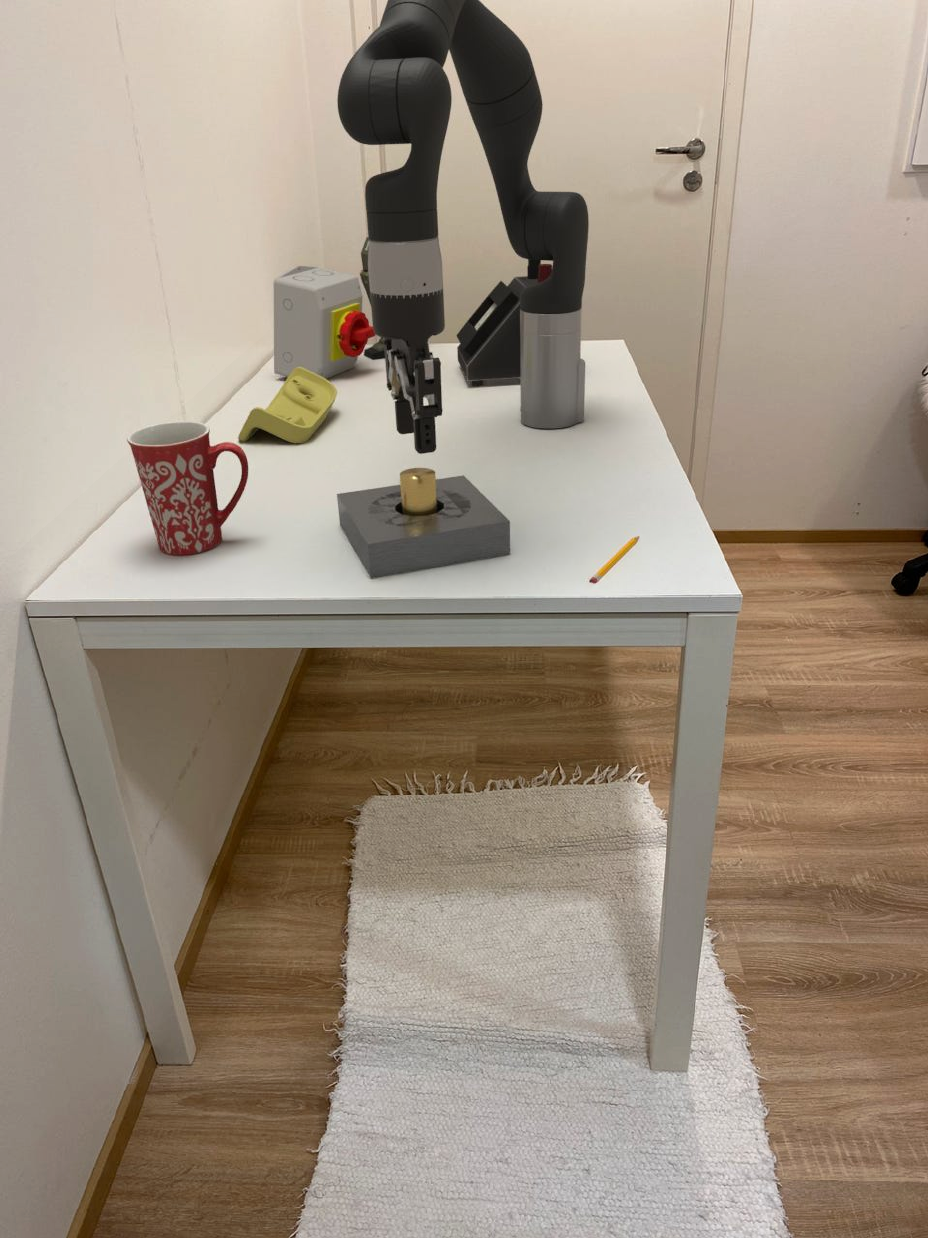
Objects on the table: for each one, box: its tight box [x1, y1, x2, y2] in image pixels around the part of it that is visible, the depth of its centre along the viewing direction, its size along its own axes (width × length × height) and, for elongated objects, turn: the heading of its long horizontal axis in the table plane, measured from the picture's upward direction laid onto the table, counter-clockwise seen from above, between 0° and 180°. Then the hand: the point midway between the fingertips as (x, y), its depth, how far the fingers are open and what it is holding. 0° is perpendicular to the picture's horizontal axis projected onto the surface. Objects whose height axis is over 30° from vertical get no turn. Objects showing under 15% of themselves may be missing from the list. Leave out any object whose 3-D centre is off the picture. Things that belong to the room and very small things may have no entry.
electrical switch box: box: [273, 264, 377, 380], centre depth 176 cm, size 15×15×20 cm
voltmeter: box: [456, 259, 553, 387], centre depth 171 cm, size 16×16×20 cm
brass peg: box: [399, 467, 437, 516], centre depth 107 cm, size 4×4×8 cm
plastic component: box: [237, 367, 338, 444], centre depth 150 cm, size 20×7×10 cm
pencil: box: [588, 535, 640, 584], centre depth 103 cm, size 1×13×1 cm, turn 150°
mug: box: [126, 420, 249, 556], centre depth 107 cm, size 13×9×14 cm
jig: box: [336, 475, 511, 579], centre depth 108 cm, size 16×16×4 cm
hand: (416, 441), depth 104 cm, fingers open, 7 cm apart
